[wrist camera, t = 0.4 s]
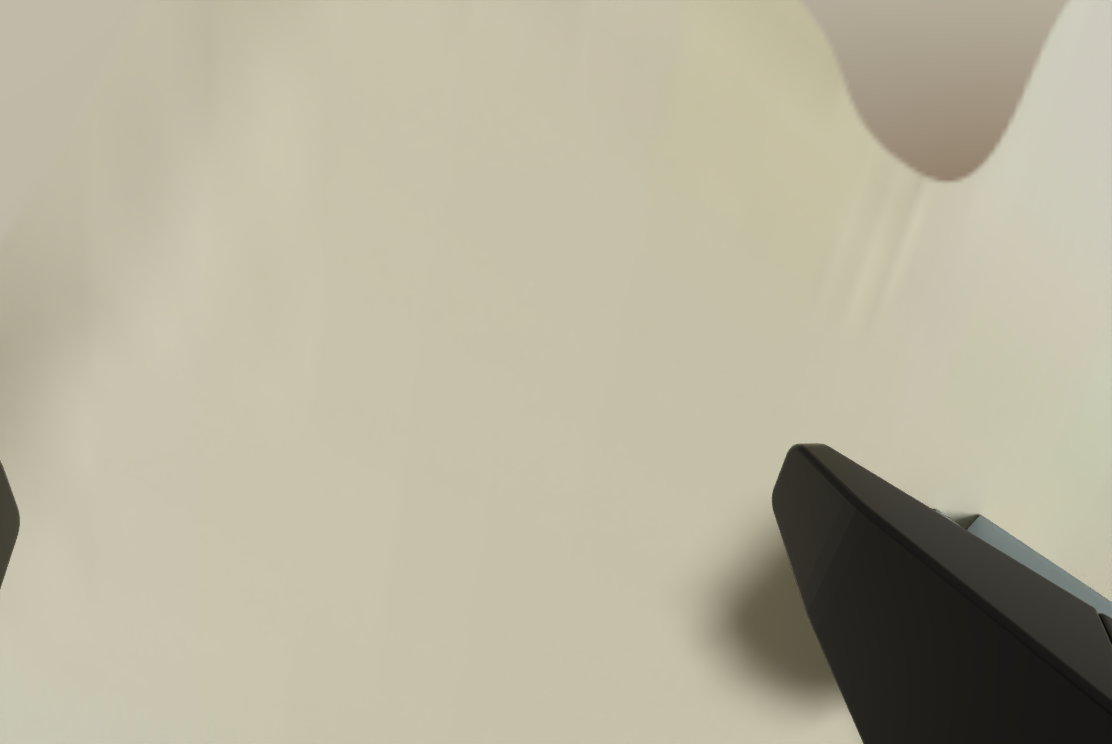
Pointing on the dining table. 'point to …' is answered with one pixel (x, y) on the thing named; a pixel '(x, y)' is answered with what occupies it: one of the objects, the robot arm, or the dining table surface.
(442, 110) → the dining table surface
